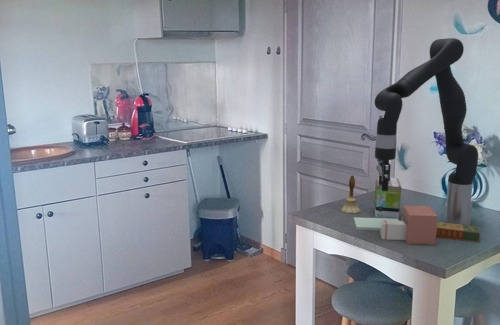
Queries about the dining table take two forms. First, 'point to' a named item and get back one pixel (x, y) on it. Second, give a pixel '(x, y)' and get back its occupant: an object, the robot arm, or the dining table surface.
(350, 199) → the hand bell
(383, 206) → the tea box
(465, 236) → the carton
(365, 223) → the stub board
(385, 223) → the white pink-banded block
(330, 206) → the dining table surface
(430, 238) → the salmon pink box
